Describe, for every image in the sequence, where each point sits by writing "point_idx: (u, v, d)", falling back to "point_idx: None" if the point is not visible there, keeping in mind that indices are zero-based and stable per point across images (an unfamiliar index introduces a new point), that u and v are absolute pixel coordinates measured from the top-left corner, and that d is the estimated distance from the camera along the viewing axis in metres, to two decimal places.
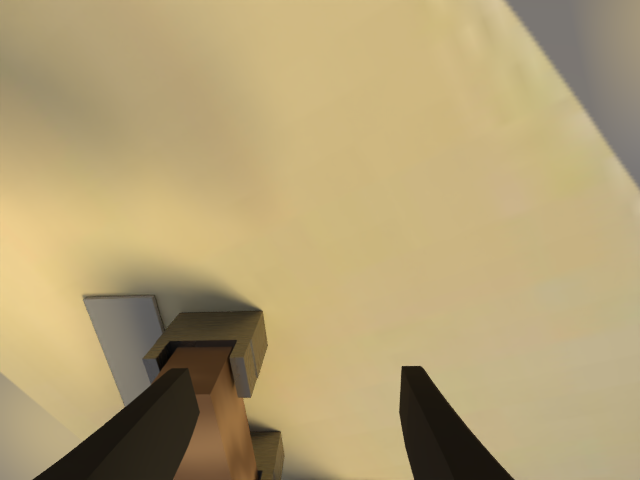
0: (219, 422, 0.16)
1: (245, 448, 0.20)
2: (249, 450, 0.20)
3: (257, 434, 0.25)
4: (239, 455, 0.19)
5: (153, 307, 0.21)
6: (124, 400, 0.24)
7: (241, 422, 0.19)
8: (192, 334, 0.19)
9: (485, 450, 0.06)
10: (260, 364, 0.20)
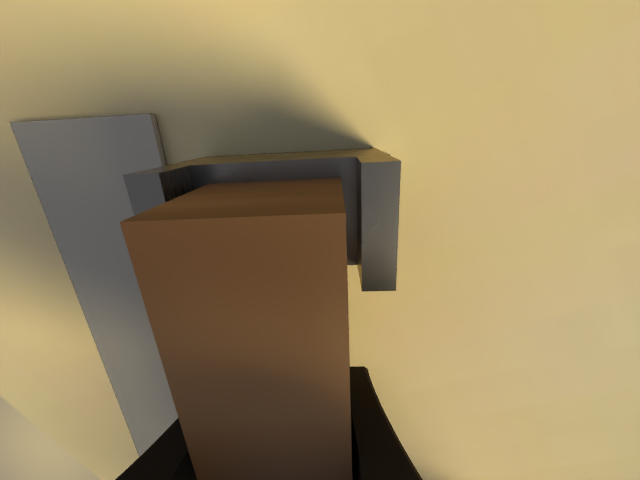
0: (348, 327, 0.05)
1: None
2: None
3: None
4: None
5: (153, 140, 0.10)
6: (99, 346, 0.13)
7: None
8: (242, 160, 0.08)
9: (400, 449, 0.06)
10: None
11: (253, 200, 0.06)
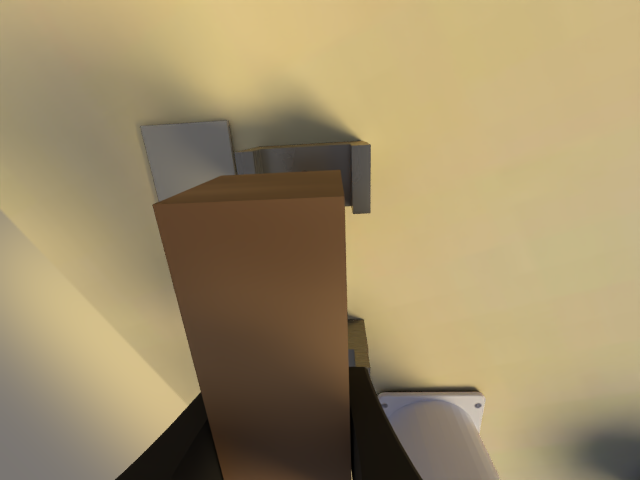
0: (346, 298, 0.06)
1: None
2: None
3: None
4: None
5: (227, 136, 0.17)
6: None
7: None
8: (287, 146, 0.15)
9: (400, 449, 0.06)
10: None
11: (264, 188, 0.06)
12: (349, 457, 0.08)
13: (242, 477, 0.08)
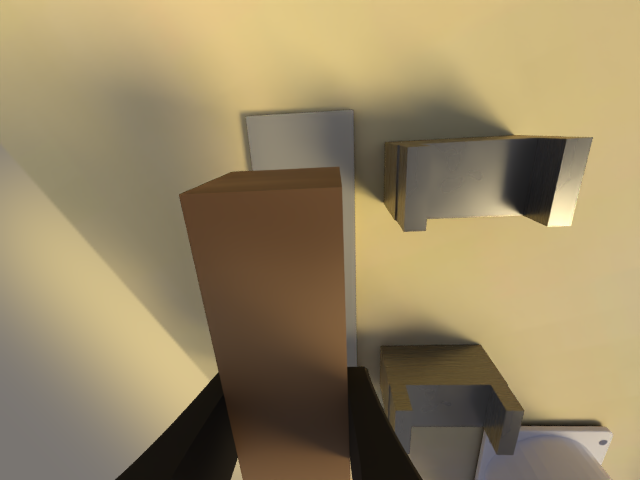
0: (344, 276, 0.07)
1: None
2: None
3: (448, 347, 0.18)
4: None
5: (350, 129, 0.14)
6: None
7: None
8: (447, 141, 0.12)
9: (400, 449, 0.06)
10: None
11: (272, 181, 0.07)
12: (347, 422, 0.09)
13: (251, 441, 0.09)
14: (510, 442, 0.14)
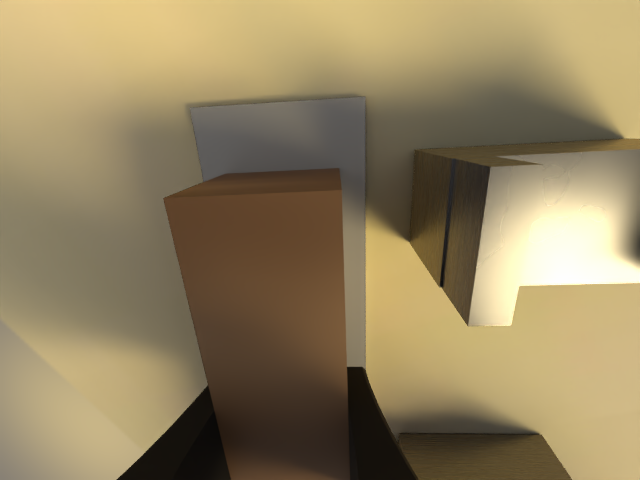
0: (344, 286, 0.07)
1: None
2: None
3: (496, 438, 0.13)
4: None
5: (360, 129, 0.09)
6: None
7: None
8: (539, 150, 0.06)
9: (397, 449, 0.06)
10: None
11: (266, 183, 0.07)
12: (347, 442, 0.08)
13: (245, 462, 0.08)
14: None
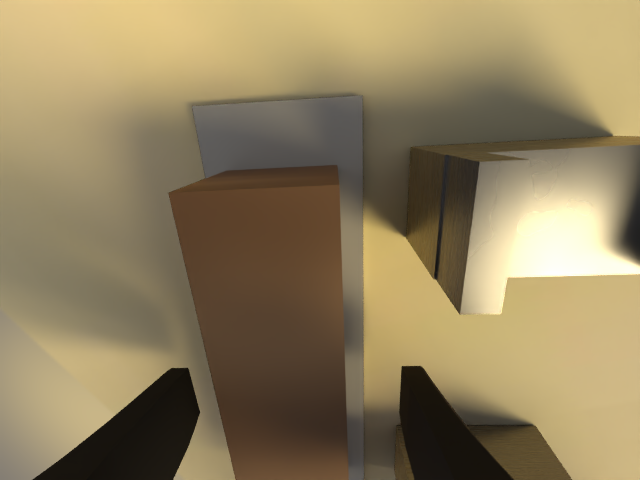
0: None
1: None
2: None
3: (491, 429, 0.13)
4: None
5: (358, 127, 0.09)
6: None
7: None
8: (528, 147, 0.07)
9: (485, 450, 0.06)
10: None
11: (267, 179, 0.07)
12: (345, 429, 0.08)
13: (246, 450, 0.09)
14: None
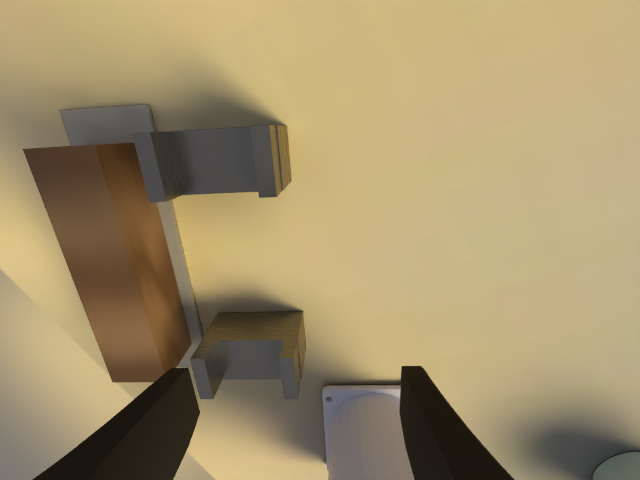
0: (111, 191, 0.14)
1: (163, 270, 0.18)
2: (169, 278, 0.19)
3: (274, 313, 0.20)
4: (151, 266, 0.17)
5: (148, 121, 0.16)
6: None
7: (155, 236, 0.18)
8: None
9: (485, 450, 0.06)
10: (285, 182, 0.15)
11: None
12: (134, 278, 0.16)
13: (88, 293, 0.16)
14: (292, 387, 0.17)
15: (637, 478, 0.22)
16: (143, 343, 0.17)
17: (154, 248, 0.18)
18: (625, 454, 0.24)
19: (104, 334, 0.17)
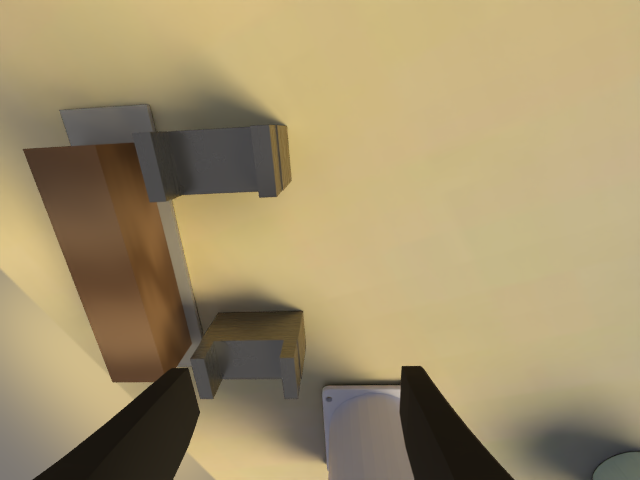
0: (111, 191, 0.14)
1: (163, 270, 0.18)
2: (169, 278, 0.19)
3: (274, 313, 0.20)
4: (151, 266, 0.17)
5: (148, 121, 0.16)
6: None
7: (155, 236, 0.18)
8: None
9: (485, 450, 0.06)
10: (285, 182, 0.15)
11: None
12: (134, 278, 0.16)
13: (88, 293, 0.16)
14: (292, 387, 0.17)
15: (637, 478, 0.22)
16: (143, 343, 0.17)
17: (154, 248, 0.18)
18: (625, 454, 0.24)
19: (104, 334, 0.17)
